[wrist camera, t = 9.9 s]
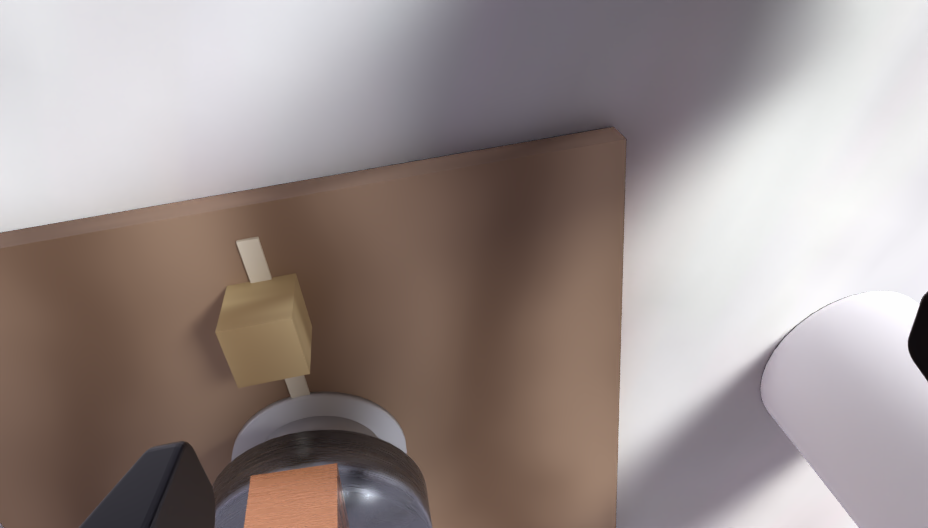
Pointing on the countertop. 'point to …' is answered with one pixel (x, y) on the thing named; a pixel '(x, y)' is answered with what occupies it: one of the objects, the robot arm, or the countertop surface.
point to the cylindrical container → (857, 406)
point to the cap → (322, 484)
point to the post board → (333, 333)
